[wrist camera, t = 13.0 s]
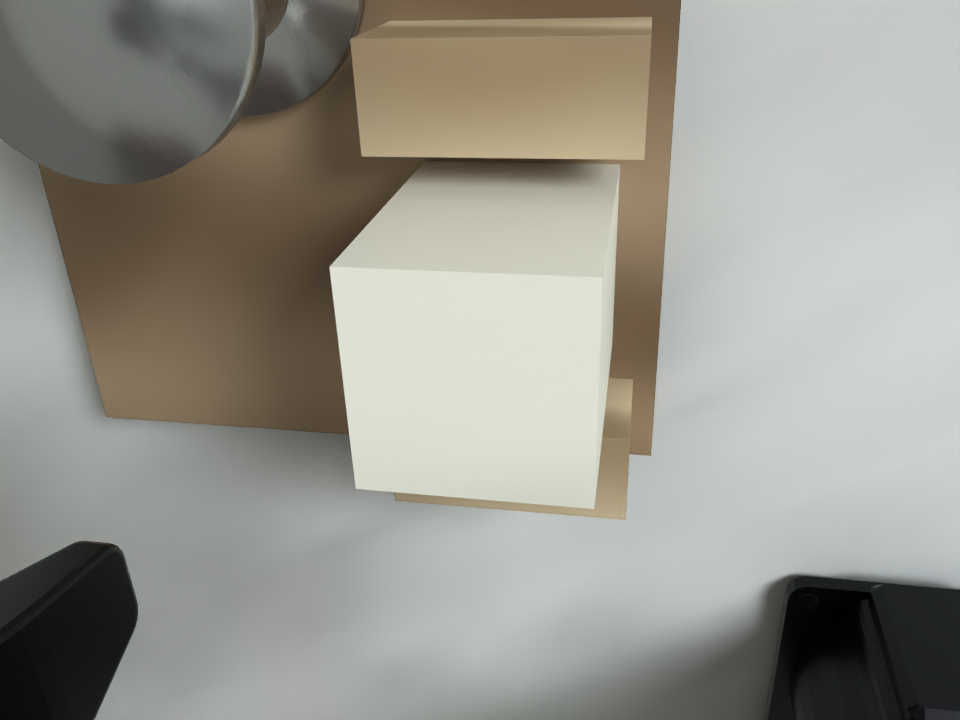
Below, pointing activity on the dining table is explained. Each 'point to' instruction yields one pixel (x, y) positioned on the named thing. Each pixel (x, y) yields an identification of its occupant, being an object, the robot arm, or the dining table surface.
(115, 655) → the robot arm
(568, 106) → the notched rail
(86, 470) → the dining table surface
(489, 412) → the white block
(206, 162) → the board
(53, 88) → the bobbin
